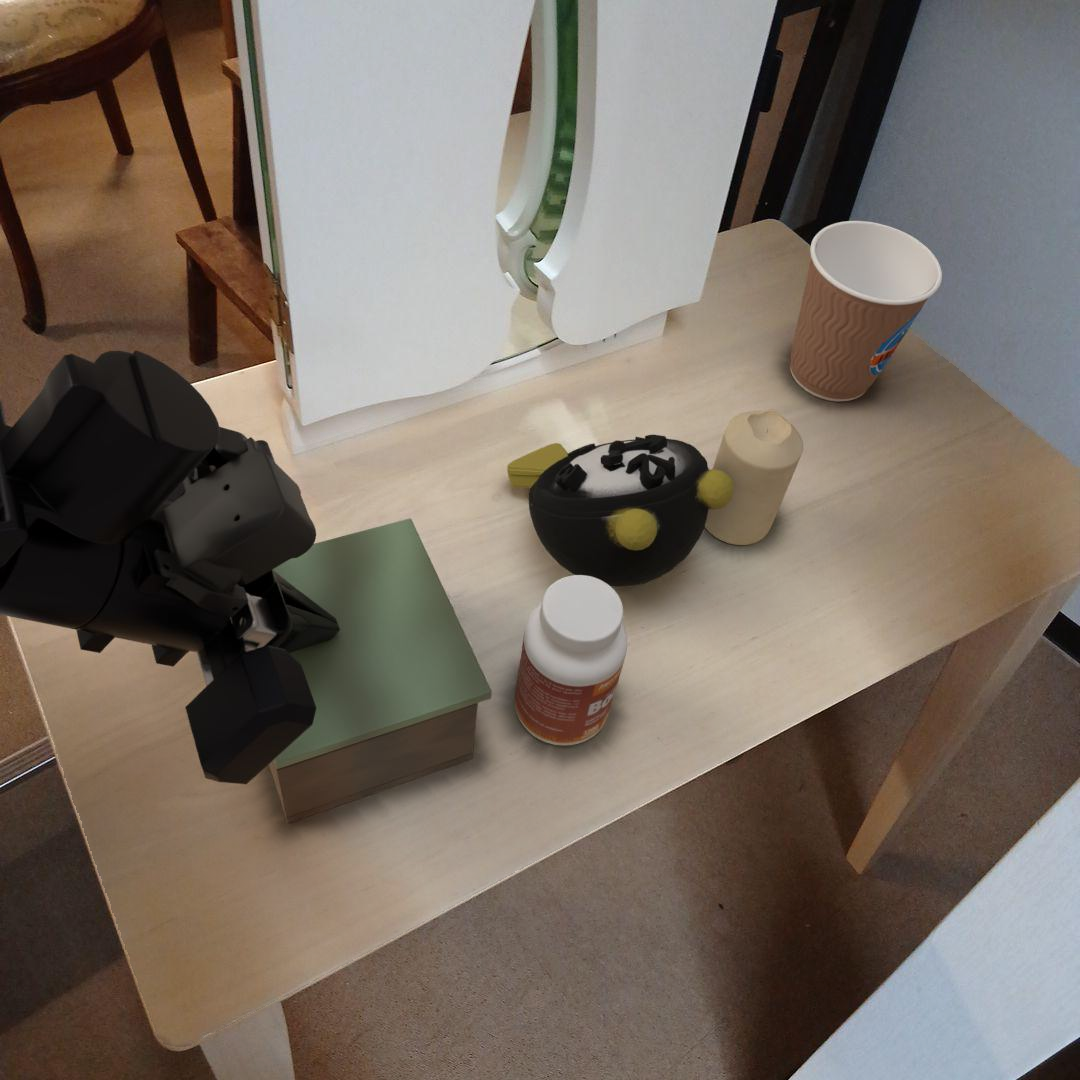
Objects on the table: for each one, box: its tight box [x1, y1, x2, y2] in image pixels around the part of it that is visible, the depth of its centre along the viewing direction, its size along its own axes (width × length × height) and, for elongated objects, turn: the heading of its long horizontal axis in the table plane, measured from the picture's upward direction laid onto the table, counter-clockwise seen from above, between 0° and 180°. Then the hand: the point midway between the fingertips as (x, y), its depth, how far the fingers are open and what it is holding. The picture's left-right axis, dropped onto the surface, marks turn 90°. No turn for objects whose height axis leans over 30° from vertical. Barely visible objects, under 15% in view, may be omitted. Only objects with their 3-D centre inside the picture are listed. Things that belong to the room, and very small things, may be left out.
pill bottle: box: [514, 574, 628, 746], centre depth 65 cm, size 6×6×11 cm
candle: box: [704, 409, 804, 546], centre depth 77 cm, size 6×6×10 cm
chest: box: [268, 703, 479, 824], centre depth 65 cm, size 12×14×7 cm
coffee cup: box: [789, 220, 943, 402], centre depth 87 cm, size 10×10×12 cm
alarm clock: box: [506, 434, 734, 588], centre depth 74 cm, size 12×15×15 cm
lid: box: [273, 517, 493, 769], centre depth 62 cm, size 12×14×1 cm
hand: (333, 629), depth 61 cm, fingers closed, pressing on lid
